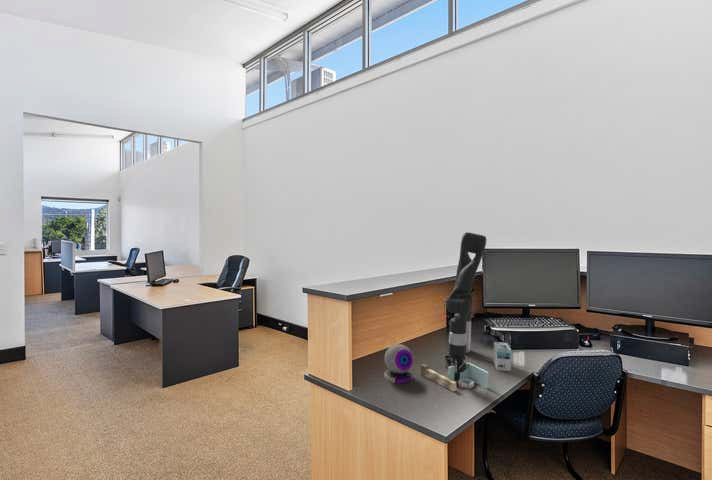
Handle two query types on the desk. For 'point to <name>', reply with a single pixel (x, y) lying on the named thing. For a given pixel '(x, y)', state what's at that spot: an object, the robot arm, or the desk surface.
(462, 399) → the desk surface
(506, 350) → the light bulb box
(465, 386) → the right angle wall
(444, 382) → the rack
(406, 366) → the webcam
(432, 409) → the desk surface
